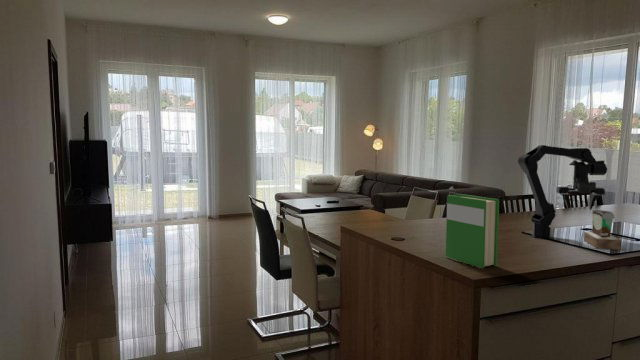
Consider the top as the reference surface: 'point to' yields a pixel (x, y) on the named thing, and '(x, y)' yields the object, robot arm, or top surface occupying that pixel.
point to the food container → (602, 223)
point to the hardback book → (472, 229)
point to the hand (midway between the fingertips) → (579, 209)
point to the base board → (602, 241)
